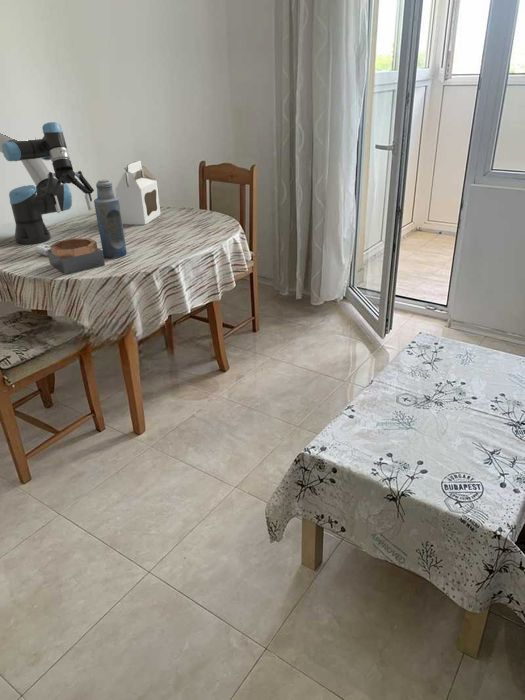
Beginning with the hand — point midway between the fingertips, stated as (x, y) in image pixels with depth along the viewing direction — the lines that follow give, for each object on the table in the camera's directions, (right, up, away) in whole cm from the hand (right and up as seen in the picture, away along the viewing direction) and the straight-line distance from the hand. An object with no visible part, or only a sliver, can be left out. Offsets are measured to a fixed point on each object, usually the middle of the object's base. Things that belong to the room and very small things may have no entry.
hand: (75, 210), depth 223 cm
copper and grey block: (+6, -25, -14) cm, 30 cm away
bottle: (+18, -19, -4) cm, 27 cm away
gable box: (+16, +9, +50) cm, 54 cm away
